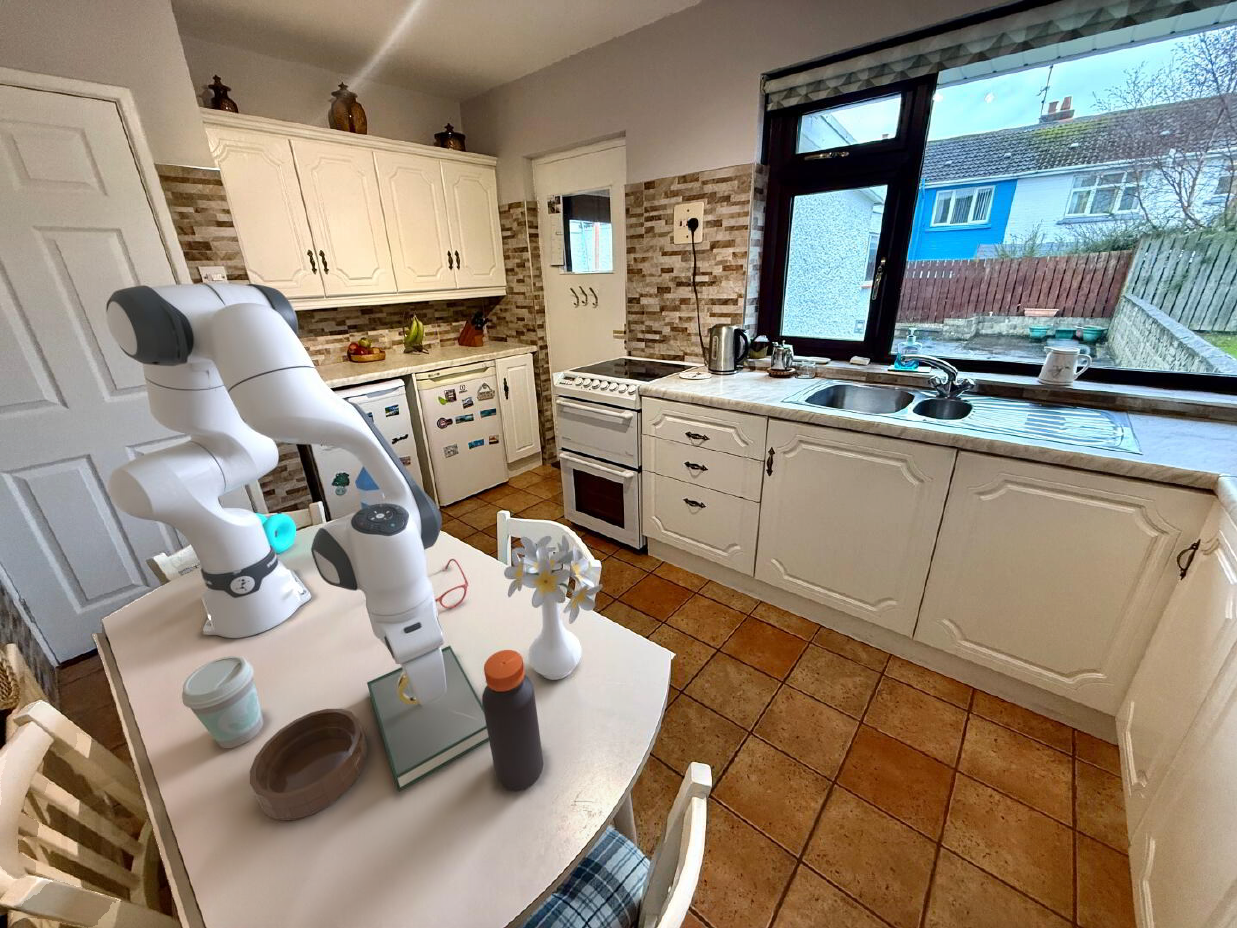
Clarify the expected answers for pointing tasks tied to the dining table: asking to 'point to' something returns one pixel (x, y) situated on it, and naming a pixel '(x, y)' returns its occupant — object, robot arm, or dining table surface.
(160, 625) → the dining table surface
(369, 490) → the water bottle
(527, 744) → the vinegar
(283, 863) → the dining table surface
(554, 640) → the flower vase
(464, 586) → the red eyeglasses
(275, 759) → the bowl
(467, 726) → the book
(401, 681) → the ring
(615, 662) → the dining table surface
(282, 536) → the cyan rounded piece
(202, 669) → the coffee cup
